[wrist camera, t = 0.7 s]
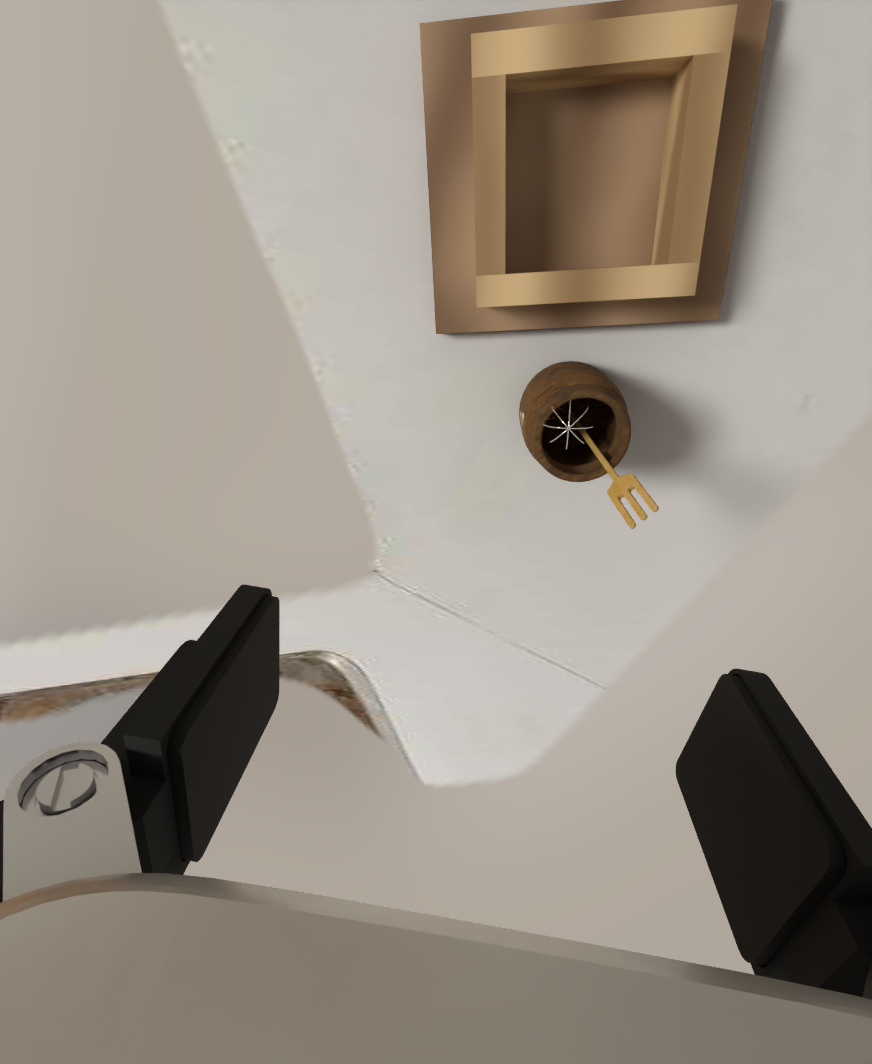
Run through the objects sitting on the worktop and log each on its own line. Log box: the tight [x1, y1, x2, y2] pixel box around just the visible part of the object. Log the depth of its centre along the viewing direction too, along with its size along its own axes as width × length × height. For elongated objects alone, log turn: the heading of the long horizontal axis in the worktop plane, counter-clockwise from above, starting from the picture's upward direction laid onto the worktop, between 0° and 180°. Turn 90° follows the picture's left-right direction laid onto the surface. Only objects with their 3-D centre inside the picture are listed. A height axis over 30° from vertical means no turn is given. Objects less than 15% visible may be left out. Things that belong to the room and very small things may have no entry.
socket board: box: [420, 0, 772, 334], centre depth 27 cm, size 16×14×4 cm
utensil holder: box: [519, 361, 659, 529], centre depth 28 cm, size 6×6×12 cm
